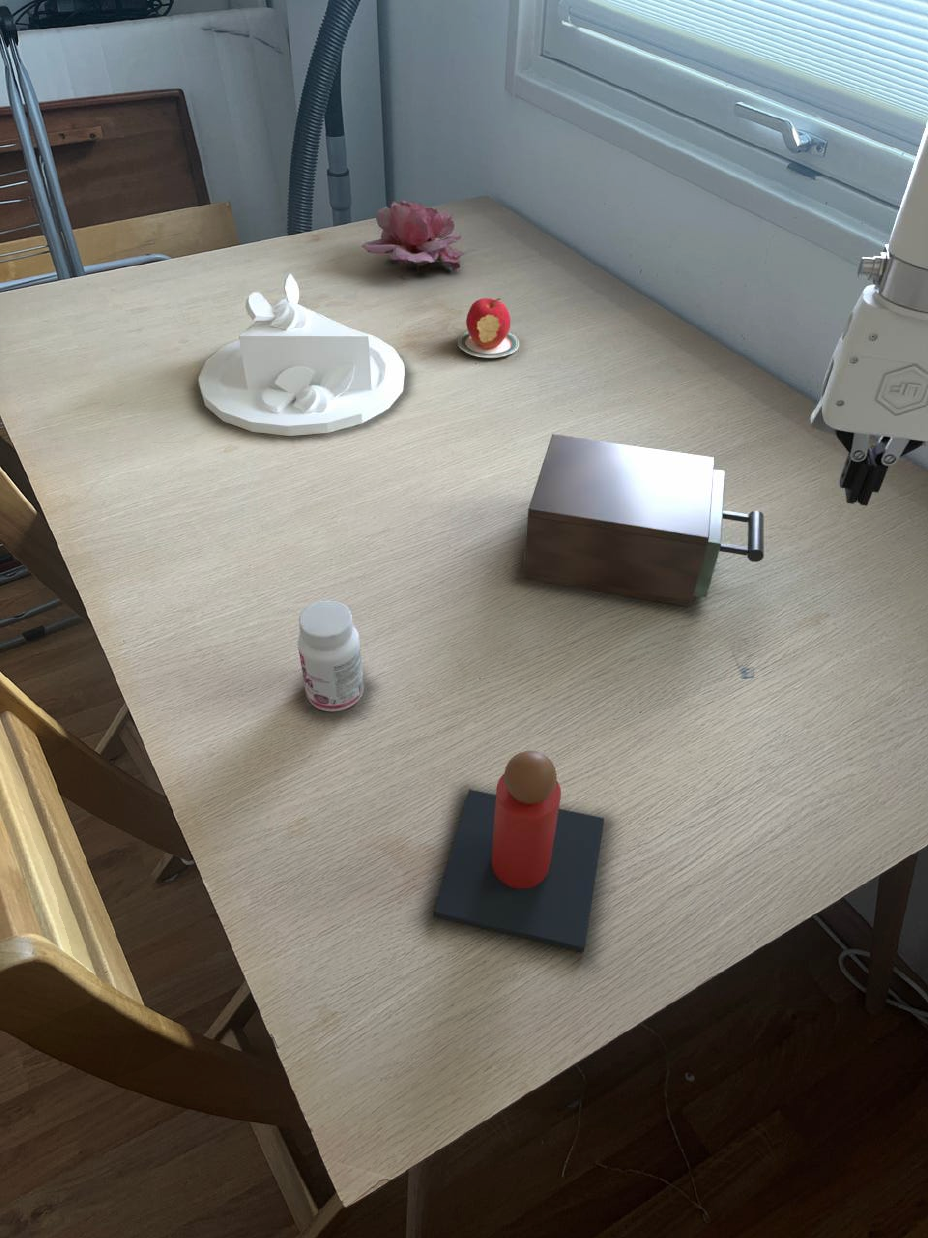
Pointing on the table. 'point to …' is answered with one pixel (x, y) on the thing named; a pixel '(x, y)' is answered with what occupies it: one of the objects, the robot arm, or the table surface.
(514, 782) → the red cylinder
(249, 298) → the dish
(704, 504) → the cabinet
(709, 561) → the drawer
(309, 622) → the pill bottle
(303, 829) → the table surface
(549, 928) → the coaster
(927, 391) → the robot arm
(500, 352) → the apple
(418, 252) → the flower
